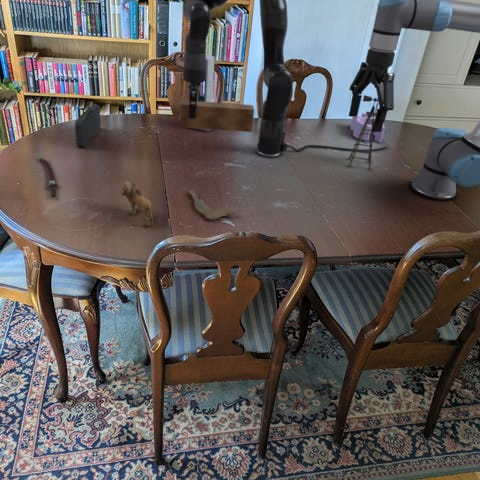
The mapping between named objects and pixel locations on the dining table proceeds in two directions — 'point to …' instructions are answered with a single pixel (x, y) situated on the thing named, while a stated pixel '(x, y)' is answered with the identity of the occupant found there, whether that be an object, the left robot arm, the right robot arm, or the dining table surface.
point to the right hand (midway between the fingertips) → (364, 123)
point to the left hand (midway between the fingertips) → (192, 115)
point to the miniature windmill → (369, 114)
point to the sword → (52, 181)
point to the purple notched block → (358, 125)
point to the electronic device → (207, 83)
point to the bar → (218, 116)
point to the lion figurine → (137, 201)
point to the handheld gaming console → (87, 125)
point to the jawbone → (207, 211)
